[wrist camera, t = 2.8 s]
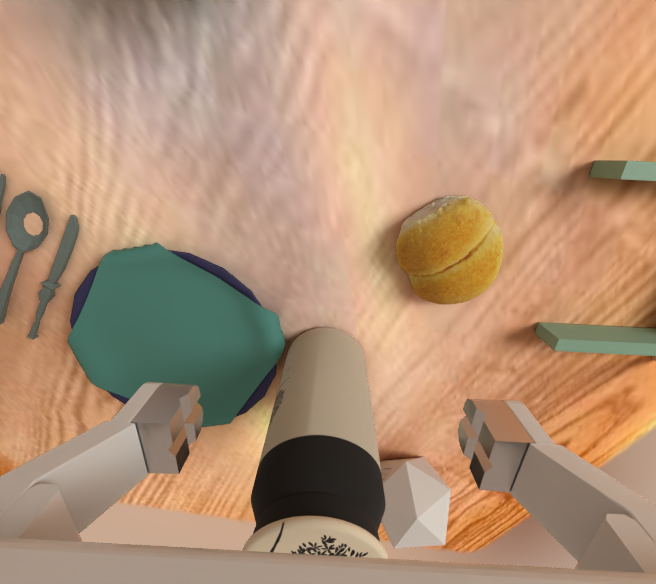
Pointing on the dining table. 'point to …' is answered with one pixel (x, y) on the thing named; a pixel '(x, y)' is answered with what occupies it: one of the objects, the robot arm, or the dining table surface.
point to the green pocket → (595, 335)
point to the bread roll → (450, 250)
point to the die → (414, 503)
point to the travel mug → (320, 455)
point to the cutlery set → (157, 320)
